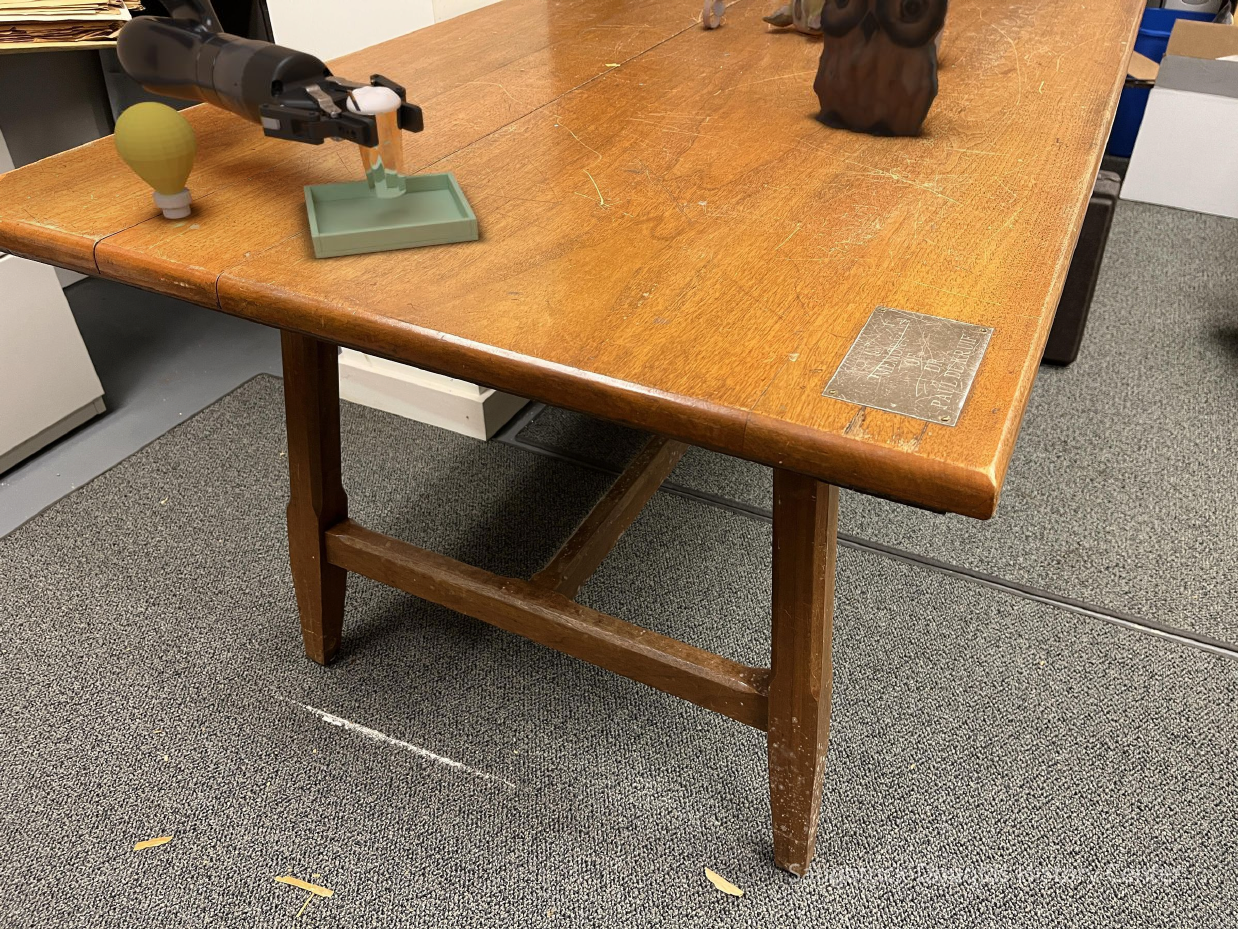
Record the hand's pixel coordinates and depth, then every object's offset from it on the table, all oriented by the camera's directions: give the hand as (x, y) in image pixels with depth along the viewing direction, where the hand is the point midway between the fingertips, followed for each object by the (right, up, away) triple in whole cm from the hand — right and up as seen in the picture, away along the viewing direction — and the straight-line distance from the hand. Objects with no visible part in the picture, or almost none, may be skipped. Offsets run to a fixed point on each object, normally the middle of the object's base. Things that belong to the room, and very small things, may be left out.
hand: (397, 127), depth 78 cm
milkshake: (-2, -4, +5) cm, 7 cm away
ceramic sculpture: (+51, +42, +71) cm, 97 cm away
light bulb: (-23, -6, +7) cm, 24 cm away
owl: (+51, +13, +34) cm, 63 cm away
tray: (-2, -6, +7) cm, 10 cm away
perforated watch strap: (+34, +43, +72) cm, 91 cm away
